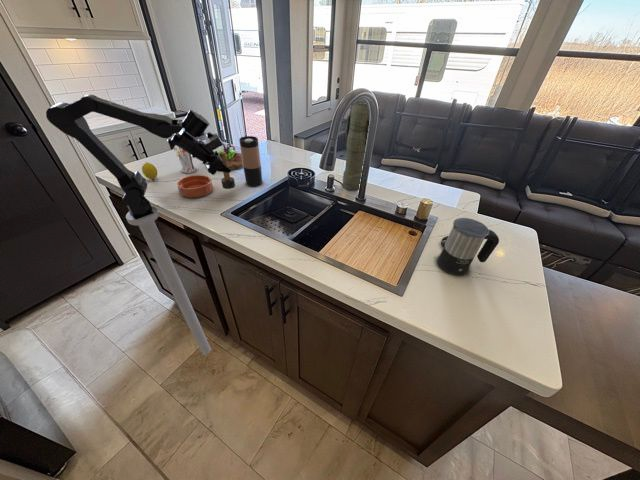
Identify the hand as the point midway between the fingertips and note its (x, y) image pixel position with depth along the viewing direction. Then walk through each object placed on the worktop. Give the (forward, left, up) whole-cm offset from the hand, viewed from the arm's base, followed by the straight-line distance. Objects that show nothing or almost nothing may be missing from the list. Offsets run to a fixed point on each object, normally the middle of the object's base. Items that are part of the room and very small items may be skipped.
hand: (229, 170), depth 101 cm
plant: (+18, +31, -11) cm, 38 cm away
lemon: (-17, +37, -11) cm, 43 cm away
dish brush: (-1, 0, -7) cm, 7 cm away
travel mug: (+13, +2, -11) cm, 17 cm away
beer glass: (-1, +35, -11) cm, 37 cm away
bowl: (-9, +13, -11) cm, 20 cm away
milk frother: (+25, -84, -11) cm, 88 cm away
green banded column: (+43, -32, -11) cm, 54 cm away
